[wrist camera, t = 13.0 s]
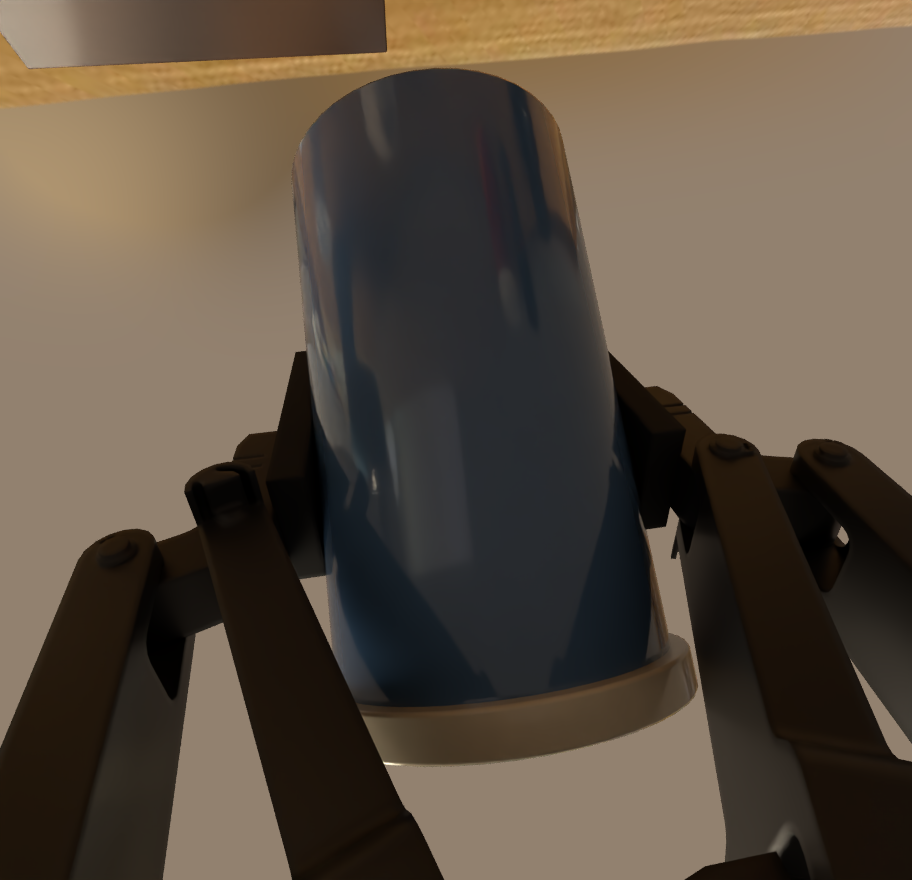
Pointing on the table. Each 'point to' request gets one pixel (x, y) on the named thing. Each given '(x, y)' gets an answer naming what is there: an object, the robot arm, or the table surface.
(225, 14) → the brown miniature bookshelf
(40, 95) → the table surface
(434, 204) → the blue lidded mug
